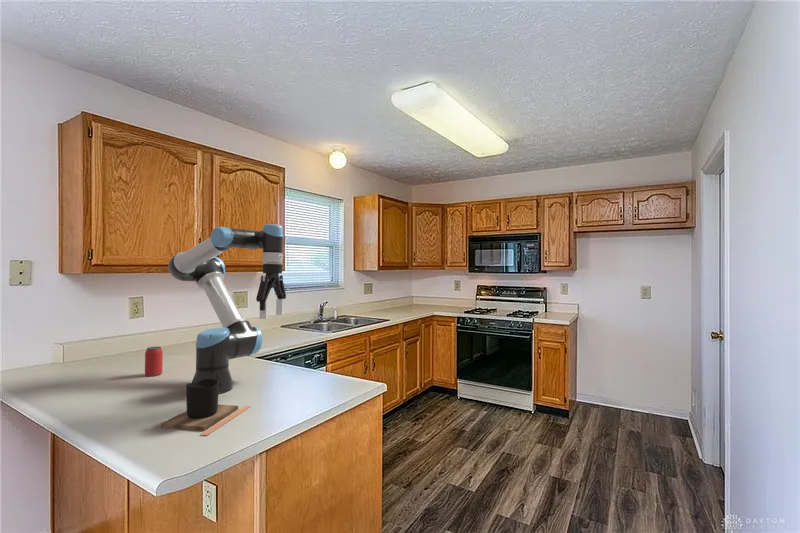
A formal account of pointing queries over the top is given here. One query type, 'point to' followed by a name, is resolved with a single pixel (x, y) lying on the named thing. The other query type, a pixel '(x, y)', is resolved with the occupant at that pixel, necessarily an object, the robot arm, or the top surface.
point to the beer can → (153, 361)
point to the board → (202, 423)
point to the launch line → (224, 421)
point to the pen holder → (202, 398)
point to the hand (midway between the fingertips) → (271, 316)
